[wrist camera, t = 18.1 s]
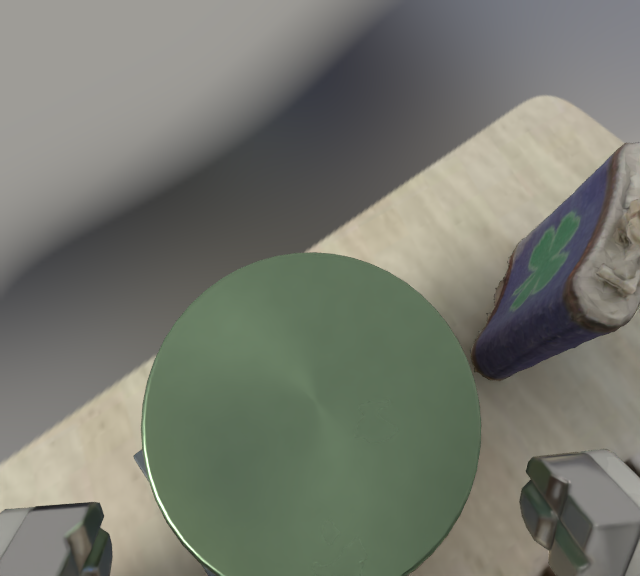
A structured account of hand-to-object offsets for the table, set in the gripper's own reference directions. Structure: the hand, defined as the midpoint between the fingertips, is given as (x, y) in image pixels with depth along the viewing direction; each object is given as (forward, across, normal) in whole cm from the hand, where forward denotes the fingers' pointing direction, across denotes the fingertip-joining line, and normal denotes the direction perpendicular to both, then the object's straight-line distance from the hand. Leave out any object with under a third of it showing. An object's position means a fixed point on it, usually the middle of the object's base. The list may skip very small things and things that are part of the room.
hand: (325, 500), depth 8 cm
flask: (+14, -12, +4) cm, 19 cm away
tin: (+6, 0, +4) cm, 7 cm away
